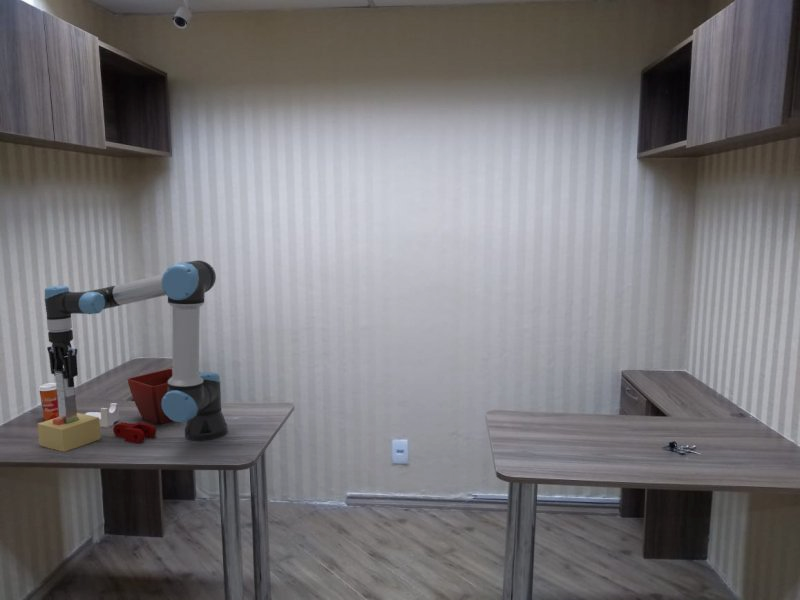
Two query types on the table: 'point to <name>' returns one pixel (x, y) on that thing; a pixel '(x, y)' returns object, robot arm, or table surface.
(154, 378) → the plant pot
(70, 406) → the column
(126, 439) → the mechanical linkage
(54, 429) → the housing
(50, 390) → the paper cup
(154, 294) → the robot arm
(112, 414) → the bracket
